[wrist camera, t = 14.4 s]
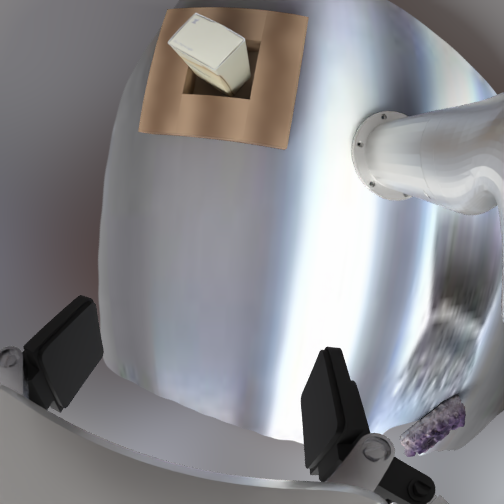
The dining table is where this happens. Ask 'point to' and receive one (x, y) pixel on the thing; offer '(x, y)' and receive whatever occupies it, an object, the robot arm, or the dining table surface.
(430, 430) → the geode
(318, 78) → the dining table surface
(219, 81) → the skincare box
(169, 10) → the socket block
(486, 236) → the dining table surface
